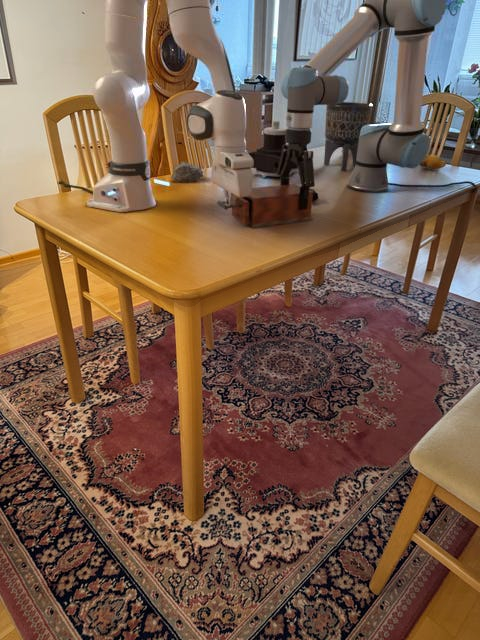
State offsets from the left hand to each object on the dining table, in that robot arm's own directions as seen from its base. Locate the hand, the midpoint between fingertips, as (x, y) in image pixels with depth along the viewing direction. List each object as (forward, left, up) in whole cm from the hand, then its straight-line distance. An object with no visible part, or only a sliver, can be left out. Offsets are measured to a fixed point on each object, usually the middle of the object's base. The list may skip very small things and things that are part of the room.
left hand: (230, 205), depth 133 cm
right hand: (+16, +14, -2) cm, 22 cm away
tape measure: (+19, +32, -6) cm, 37 cm away
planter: (+27, +96, -6) cm, 100 cm away
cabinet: (+11, +10, -6) cm, 16 cm away
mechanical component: (+2, +73, -6) cm, 73 cm away
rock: (-31, +48, -6) cm, 57 cm away
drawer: (+7, +6, -5) cm, 10 cm away
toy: (+67, +108, -6) cm, 127 cm away
